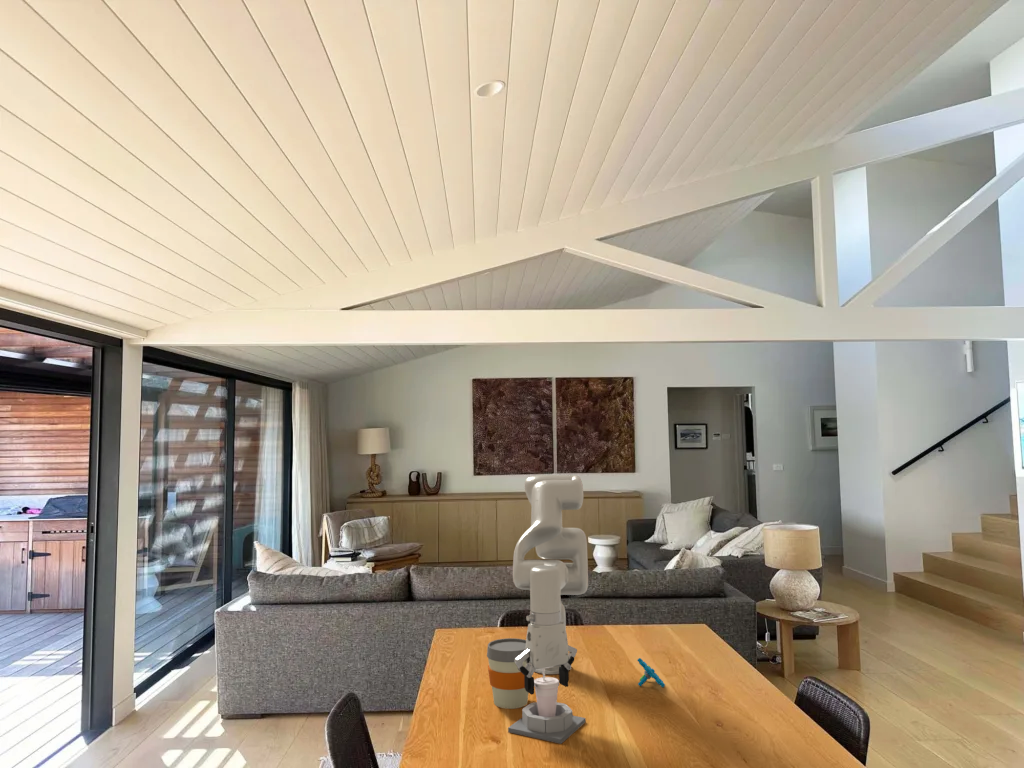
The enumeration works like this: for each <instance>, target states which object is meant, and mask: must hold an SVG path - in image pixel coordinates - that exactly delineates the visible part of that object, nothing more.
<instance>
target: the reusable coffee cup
mask: <svg viewBox="0 0 1024 768" xmlns="http://www.w3.org/2000/svg"><path fill="white" fill-rule="evenodd" d="M525 650H526V639H523V638H517V637H515V638H514V637H513V638H512V637H511V638H510V637H509V638H500V639H494V640H492V641H489V643H488V644H487V650H486V651H487V652H486V658H488V665H487V670H488V671H487V672H488V677H489V685H490V686H491V690H492V698H493V705H495V706H496V707H497V708H501V709H509V710H510V709H511V710H513V709H520V708H524V707H526V706H527V705H528V700H529V693H528V692H527V691H526V690H525V687H524V675H523V674H522V673H521V672H520V671H519V670H518V667H517V665H516V663H515V661H514V660H515V658H517V657H518V656H519V655H520V654H522V653H523V652H524V651H525ZM526 664H527V663H526V660H524V661H523V666H524V667H525V666H526Z"/></svg>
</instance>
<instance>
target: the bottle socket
mask: <svg viewBox="0 0 1024 768" xmlns="http://www.w3.org/2000/svg"><path fill="white" fill-rule="evenodd" d="M521 711H522V712H521V713H522V715H521V716H522V717H521V718H519V719H518V720H517V721H515V722H514V723H512V724H511V725H510V726H509V727H508V728H507V731H508V733H512V734H515V735H519V736H525V737H529V738H532V739H533V738H534V739H539V740H543V741H548V742H552V743H555V744H560V745H561V744H562V743H564V742H565V741H566V740H567V739H569V738H570V736H572V735H573V734H574V733H576V731H578V729H580V728H581V727H582V726H583V725H584V724H585V723H586V722H587V721H586V717H582V716H578V715H577V716H576V715H573V714H574V713H573V710H572V708H571V707H570V706H568V705H567V704H566V703H562V702H558V701H557V704H556V716H553V717H542V716H539V713H538V706H537V701H535V702H530V703H529V704H526V705H525V706H523V707H522V710H521Z"/></svg>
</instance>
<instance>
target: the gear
mask: <svg viewBox="0 0 1024 768" xmlns="http://www.w3.org/2000/svg"><path fill="white" fill-rule="evenodd" d="M636 661H637V662H638V664H639V665H640V666H641V667H642V668H643V670H644V671H643V675H642V676H641V677H640V678H639V682H638V683H637V684H638V686H639V687H640V686H641V687H642V686H643V685H644V684H645V682H646V681H648V680H650V679H651V678H652V679H654V680H655V682H656V683H657V684H658V685H660V687H661V688H665V686H666V684H665V683H664V680H662V678H660V677H659V675H658V674H657V673H656V670H654V668H652V666H650V665H648V664H647V663H646V661H643V659H642V658H640V657H639V658H637V660H636Z"/></svg>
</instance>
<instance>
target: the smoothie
mask: <svg viewBox="0 0 1024 768" xmlns="http://www.w3.org/2000/svg"><path fill="white" fill-rule="evenodd" d="M559 687H560V683H559V678H557V677H551V676H546V674H545V669H543V674H542V676H541V677H537V678H534V693H535V697H536V702H537V706H538V713H539V716H542V717H553V716H556V704H557V702H558V691H559Z"/></svg>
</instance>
